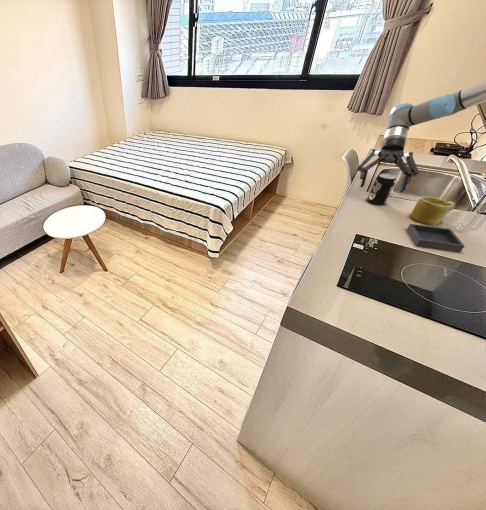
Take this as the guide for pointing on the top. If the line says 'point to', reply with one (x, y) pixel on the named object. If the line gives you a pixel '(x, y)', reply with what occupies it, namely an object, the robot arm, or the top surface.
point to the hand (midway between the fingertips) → (381, 188)
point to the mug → (431, 210)
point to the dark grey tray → (435, 238)
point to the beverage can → (381, 189)
